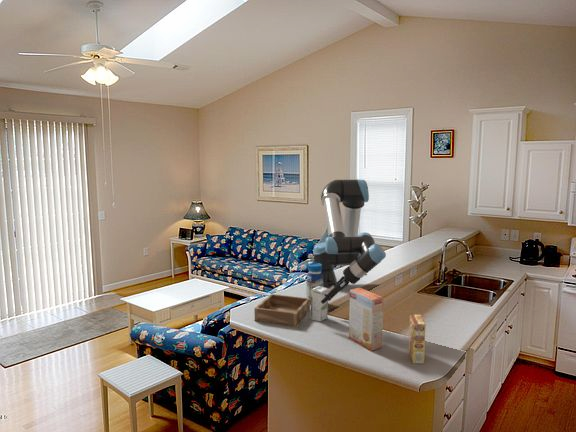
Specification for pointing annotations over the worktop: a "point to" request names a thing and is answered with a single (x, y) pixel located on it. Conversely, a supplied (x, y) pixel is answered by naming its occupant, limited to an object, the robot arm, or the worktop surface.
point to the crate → (282, 310)
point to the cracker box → (366, 318)
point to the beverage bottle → (314, 278)
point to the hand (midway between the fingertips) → (321, 301)
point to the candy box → (417, 339)
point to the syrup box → (316, 295)
